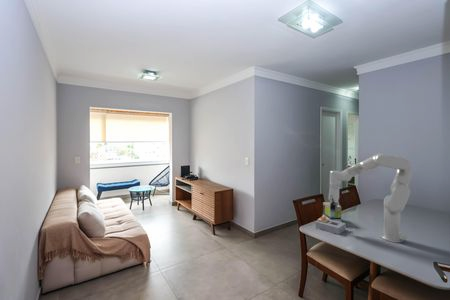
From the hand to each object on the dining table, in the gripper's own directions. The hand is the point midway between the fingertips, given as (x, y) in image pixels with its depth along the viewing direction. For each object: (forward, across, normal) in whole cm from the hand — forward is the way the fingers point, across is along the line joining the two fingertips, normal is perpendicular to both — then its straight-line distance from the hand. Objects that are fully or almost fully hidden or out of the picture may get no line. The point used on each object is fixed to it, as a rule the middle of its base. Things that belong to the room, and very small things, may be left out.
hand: (333, 208), depth 178 cm
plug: (+2, 0, 0) cm, 2 cm away
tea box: (+17, -20, -9) cm, 28 cm away
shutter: (+12, 0, -8) cm, 15 cm away
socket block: (+17, 0, -2) cm, 17 cm away
